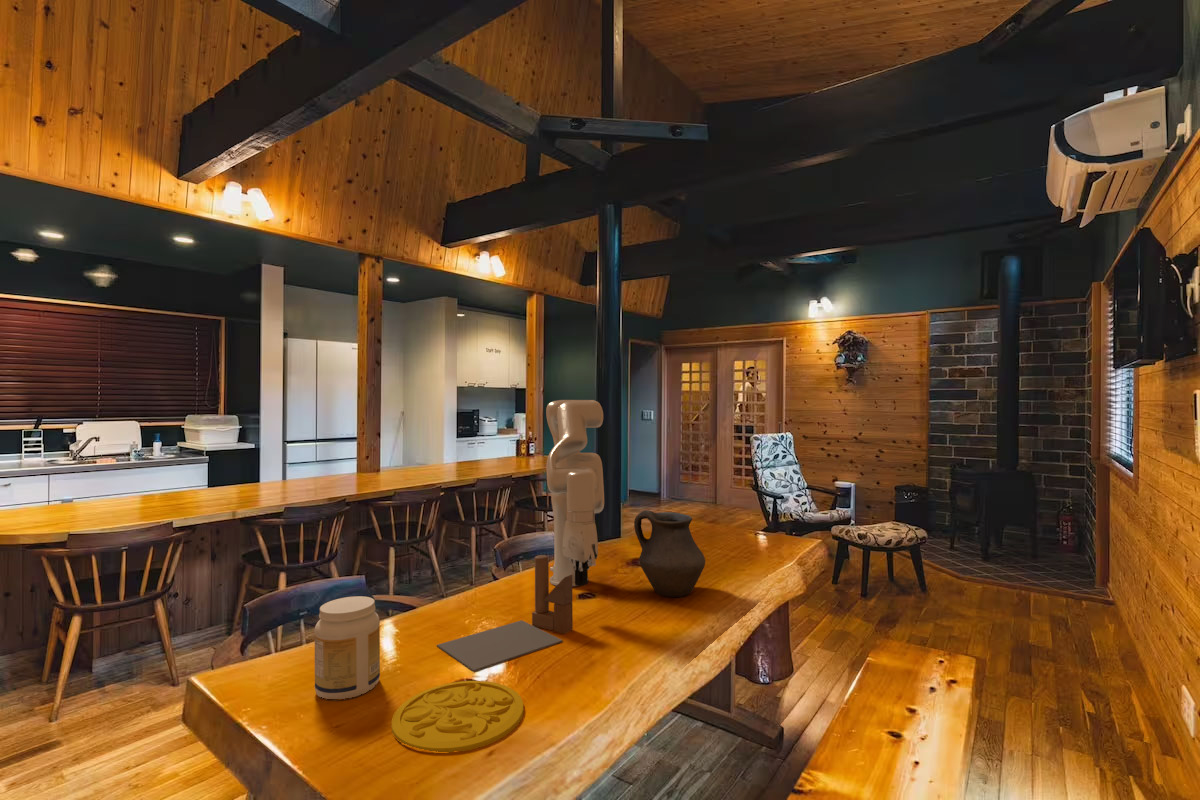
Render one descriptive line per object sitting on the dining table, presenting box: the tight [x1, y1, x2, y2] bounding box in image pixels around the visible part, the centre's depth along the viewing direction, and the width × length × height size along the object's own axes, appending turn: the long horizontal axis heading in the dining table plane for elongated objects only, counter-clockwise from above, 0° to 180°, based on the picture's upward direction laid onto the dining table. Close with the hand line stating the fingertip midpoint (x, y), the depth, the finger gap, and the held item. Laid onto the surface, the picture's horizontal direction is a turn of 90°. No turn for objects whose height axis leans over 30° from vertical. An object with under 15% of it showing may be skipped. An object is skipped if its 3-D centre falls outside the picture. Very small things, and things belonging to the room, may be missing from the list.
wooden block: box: [531, 554, 574, 635], centre depth 147 cm, size 4×11×18 cm, turn 57°
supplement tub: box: [313, 595, 381, 700], centre depth 116 cm, size 12×12×17 cm
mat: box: [436, 619, 563, 673], centre depth 137 cm, size 18×24×1 cm
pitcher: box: [633, 509, 706, 598], centre depth 175 cm, size 21×22×25 cm
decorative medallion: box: [391, 680, 524, 752], centre depth 105 cm, size 24×24×2 cm
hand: (581, 584), depth 154 cm, fingers closed
